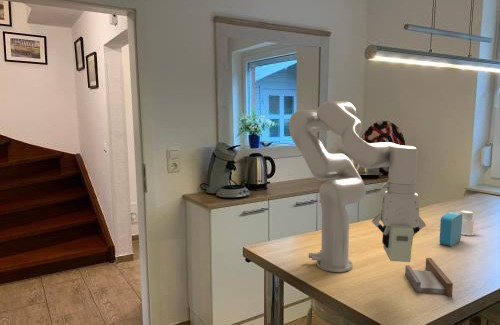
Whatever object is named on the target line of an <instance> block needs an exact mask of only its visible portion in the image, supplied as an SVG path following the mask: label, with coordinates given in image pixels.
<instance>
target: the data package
mask: <svg viewBox="0 0 500 325" xmlns="http://www.w3.org/2000/svg"><path fill="white" fill-rule="evenodd" d="M439 227H440V228H439V240H438V241H439V244H440V245H444V246H448V247H453V246H455V245H456V244H457V243H458V242H459V243H460V241H461V239H462V234H461V231H462V214H461V212H460V213H459V212H454V211H450V212H447V213H446V214H444V215H442V216H441V217H440V225H439Z"/></svg>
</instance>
